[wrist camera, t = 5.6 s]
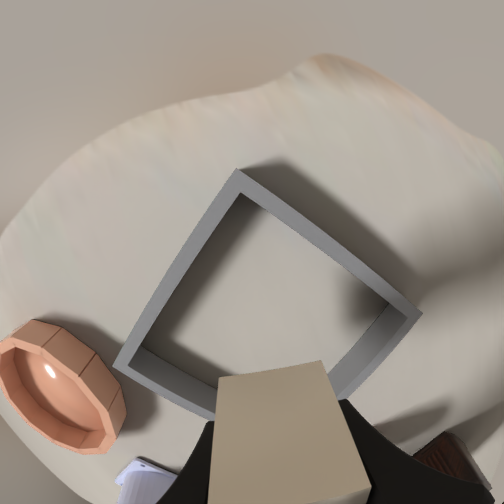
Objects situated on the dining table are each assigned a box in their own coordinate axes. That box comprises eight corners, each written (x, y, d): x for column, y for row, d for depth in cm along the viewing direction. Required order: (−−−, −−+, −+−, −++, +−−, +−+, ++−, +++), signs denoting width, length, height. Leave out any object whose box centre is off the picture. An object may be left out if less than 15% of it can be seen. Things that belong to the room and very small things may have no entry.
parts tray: (404, 298, 18) (422, 313, 15) (282, 427, 20) (286, 450, 18) (237, 169, 15) (236, 168, 13) (124, 346, 18) (112, 366, 15)
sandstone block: (320, 360, 11) (371, 486, 5) (323, 424, 12) (356, 530, 6) (218, 377, 11) (207, 512, 5) (238, 438, 12) (239, 548, 6)
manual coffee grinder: (409, 489, 26) (446, 574, 8) (374, 481, 24) (414, 592, 6) (493, 420, 23) (552, 496, 6) (477, 396, 21) (558, 495, 4)
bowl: (146, 385, 19) (136, 412, 16) (103, 447, 21) (94, 468, 18) (22, 292, 17) (-1, 307, 14) (8, 378, 19) (-7, 394, 16)
